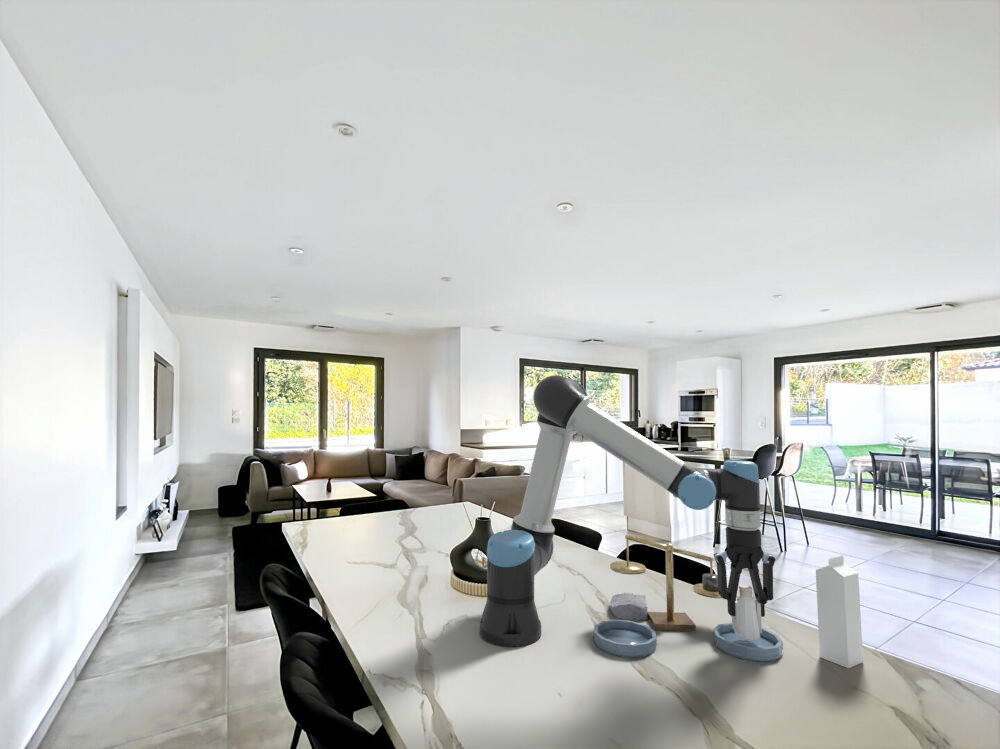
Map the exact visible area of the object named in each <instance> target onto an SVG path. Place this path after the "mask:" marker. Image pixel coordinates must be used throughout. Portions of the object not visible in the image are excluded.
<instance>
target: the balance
mask: <svg viewBox="0 0 1000 749" xmlns="http://www.w3.org/2000/svg"><path fill="white" fill-rule="evenodd" d="M624 537H625V539H626V560H619V561H614V562H611V563H610V565H609V569H610V570H611V571H613V572H614V573H618V574H622V575H631V576H632V575H642V574H644V573H646V572H647V567H646V566H645V565H644V564H642V563H639V562H635V561H630V559H629V556H630V554H629V553H630V549H629V546H630V545H629V541H632V542H636V543H639V544H643V545H647V546H650V547H654V548H657V549H660V550H664V551H665V585H666V586H665V587H666V588H665V591H666V596H665V597H666V611H663V612H661V611H647V620H648V621H649V623H650V625H651V626H652V628H653V629H654V631H666V632H667V631H668V632H669V631H670V632H678V631H679V632H697V626H696V624H695V622H694V621H693V620H692V618H690V617H689V615H688V614H687V613H686V612H675V596H674V595H675V590H674V589H675V588H674V585H675V584H674V553H676V554H679V555H683V556H687V557H690V558H694V559H698V560H702V561H705V562H709V564H710V566H709V569H710V573H703V574H702V583H696V584H694V585H693V586H692V588H693V589H692V590H693V592H694V593H695V594H697V595H699V596H702V597H705V598H706V597H707V598H711V599H723V598H722V597H721V596H720V595H719V592H718V576H717V573H716V574H715V573H713V562H714V561H715V558H714V557H712V556H707V555H705V554H701V553H696V552H695V551H694V552H693V551H690V550H686V549H682V548H679V547H675V546H674V545H673V544H672V543H670V542H669V543H666V544H664V543H661V542H656V541H652V540H649V539H646V538H641V537H637V536H634V535H630V534H626V535H625V536H624ZM727 590H728V587H727Z"/></svg>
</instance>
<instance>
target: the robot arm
mask: <svg viewBox="0 0 1000 749" xmlns="http://www.w3.org/2000/svg"><path fill="white" fill-rule="evenodd" d="M532 399H533V405H534V407H535V409H536V411H537V412H538V414H537V419H536V423H537V424H538V426H539V428H540V431H539V435H538V439H537V442H536V447H535V451H534V456H533V458H532V459H533V460H532V464H531V468H530V471H529V477H528V481H527V485H526V489H525V491H524V492H525V493H524V496H523V497H524V498H523V501H522V506H521V508H520V509H521V510H520V513H519V514H517V515H516V516H513V519H512V522H511V523H512V524H511V528H510V529H507V530H503V531H498V532H496V533H494V534H492V535H491V536H490V537H489V539H488V541H487V548H486V575H487V576H486V601H485V605H484V608H483V612H482V616H481V619H480V622H479V636H480V637H481V639H483V641H486V642H487V643H490V644H493V645H495V646H501V647H502V646H503V647H520V646H527V645H530V644H533V643H535V642H536V641H539V640H540V638H541V637H542V622H541V620H540V618H539V614H538V611H537V606H536V602H535V576H536V575H537V574H538V573H539V572H540V571H541V570H542V569H544V568H546V566H547V565H548V564H549V562H550V560H551V559H552V556H553V553H554V535H555V530H556V528H555V526H554V525H553V523H552V520H553V515H554V510H555V506H556V502H557V497H558V493H559V490H560V486H561V481H562V476H563V473H564V470H565V465H566V460H567V455H568V451H569V447H570V444H571V439H572V437H573V436H574V435H575V434H579V435H581V436H583V437H584V438H586V439H587V440H589V441H591V442H592V443H593V444H595V445H596V446H598V447H600V448H601V449H603V450H604V451H606V452H607V453H609V454H611V455H612V456H613V457H615V458H616V459H618V460H619V461H621V462H623V463H625V464H626V465H627V466H628V467H631V468H632V469H634V470H635V471H637V472H638V473H640V474H641V475H643V476H645V477H646V478H648V479H649V480H650V481H651V482H654V483H655V484H657V485H659V486H660V487H662V488H663V489H665V490H666V491H667V492H668V493H670V494H672V496H673V497H674V498H677V499H679V500H680V501H681V502H682V504H683V505H684V506H686V507H688V508H689V509H691V510H695V511H700V510H702V511H703V510H706V509H707V508H709V507H710V506H712V504H714V501H724V508H725V510H724V511H725V513H724V514H725V515H724V517H725V518H724V519H725V524H726V525H727V526H726V527H725V543H726V546H725V549H724V551H723V552H720V553H717V552H716V553H714V554H713V559H714V561H715V562H716V572H717V573H716V575H717V576H718V592H719V595H720V596H721V597H722V598H721V599H723V600H727V601H726V602H727V613H728V614H729V616H730V617H731V623H732V628H733V629H734V630H735V631H736V632H737V633H740V607H739V602H737V596H738V591H739V586H740V585H739V584H740V579H741V578H740V577H741V574H742V572H743V570H744V569H747V570H748V574H749V577H750V581H751V585H752V586H751V587H752V591H753V593H754V599H755V604H756V611H757V618H758V627H759V633H762V628H763V627H762V626H763V625H762V618H765V616H766V611H765V610H766V609H765V608H766V607H765V605H767V603H768V601H772V600H773V599H774V565H775V562H776V557H774V556H773V555H771V554H770V553H765V552H764V551H763V548H762V545H763V544H762V531H761V530H760V528H761V525H762V523H761V521H762V520H761V500H760V499H761V498H760V497H761V496H760V495H761V492H760V491H761V490H760V475H759V466H758V464H757V463H755V462H753V461H751V460H750V461H749V460H725V461H724V462H723V466H722V468H704V467H693V466H691V465H690V464H688V463H686V462H684V461H683V460H682V459H679V457H677V456H675V455H673V454H672V453H670V452H669V451H667V450H665V449H664V448H662V447H661V446H659V445H657V443H654V442H653V441H651V440H649V439H648V438H646V437H645V436H643V435H641V434H640V433H638V432H637V431H635V430H634V429H632V428H631V427H629V426H627V425H626V424H624V423H623V422H621V421H619V420H618V419H616V418H615V417H613V416H611V415H610V414H608V413H606V412H604V411H603V410H602V409H601V408H599V407H597V406H595V405H594V404H592V403H591V400H590V397H589V395H588V392H587V390H586V389H585V387H584V386H583V385H582V384H581V383H580V382H578V381H577V380H575V379H572V378H569V377H566V376H563V375H559V374H554V375H549V376H547V377H544V378H543V379H542V380H541V381H539V382H538V384H537V385H536V387H535V388H534V391H533V398H532ZM727 558H728V560H729V561H730V572H729V574H730V575H729V580H728V579H727V566H726V563H727ZM761 560H762V580H761V578H760V570H759V566H758V564H759V563H760V561H761ZM727 588H728V590H727Z"/></svg>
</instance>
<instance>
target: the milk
mask: <svg viewBox="0 0 1000 749" xmlns="http://www.w3.org/2000/svg"><path fill="white" fill-rule="evenodd" d="M859 579H860V578H859V572H857V571H856V570H855V569H854V568H852V567H850V566H849V565H848V564H847V563H846V562H845V561H844V555H843V554H842V555H837V556H832V557H829V558H828V565H826V566H823V567H820V568H817V569H815V585H816V586H815V587H816V588H815V589H816V606H817V622H818V623H817V626H818V627H817V628H818V630H817V631H818V645H819V647H818V649H819V657H820V658H821V659H824V660H826V661H829V662H831V663H834V664H836V665H839V666H842V667H843V668H846V669H850V668H851V669H852V668H853V667H856V666H858V665H860V664H862V663H864V652H863V651H864V650H863V636H862V635H863V634H862V618H861V617H862V616H861V615H862V614H861V600H860V599H861V596H860V583H859V581H860V580H859Z"/></svg>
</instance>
